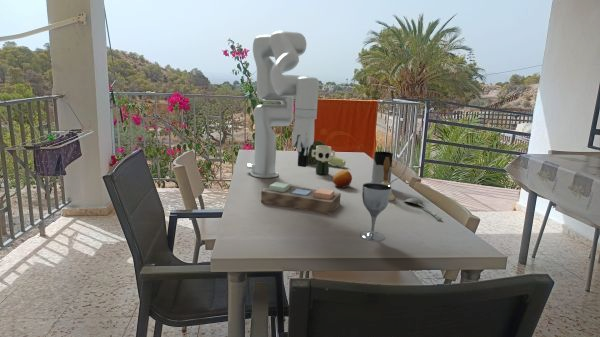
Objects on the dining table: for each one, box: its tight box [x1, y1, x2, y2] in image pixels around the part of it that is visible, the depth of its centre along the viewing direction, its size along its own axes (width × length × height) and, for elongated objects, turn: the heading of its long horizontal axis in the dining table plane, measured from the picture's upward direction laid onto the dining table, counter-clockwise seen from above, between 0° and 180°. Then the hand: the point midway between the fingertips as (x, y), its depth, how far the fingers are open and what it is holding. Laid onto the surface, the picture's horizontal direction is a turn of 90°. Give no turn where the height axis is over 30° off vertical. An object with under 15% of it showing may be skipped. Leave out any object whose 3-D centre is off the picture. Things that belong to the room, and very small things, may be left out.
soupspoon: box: [403, 197, 443, 221], centre depth 142 cm, size 22×3×7 cm
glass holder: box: [370, 151, 408, 185], centre depth 167 cm, size 9×14×15 cm, turn 70°
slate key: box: [291, 189, 311, 196], centre depth 142 cm, size 6×6×3 cm
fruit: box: [332, 169, 353, 188], centre depth 168 cm, size 8×8×8 cm
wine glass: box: [359, 182, 392, 242], centre depth 114 cm, size 8×8×15 cm
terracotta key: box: [314, 187, 335, 200], centre depth 139 cm, size 6×6×3 cm
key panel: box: [260, 185, 342, 215], centre depth 142 cm, size 26×12×4 cm, turn 70°
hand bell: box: [382, 157, 396, 202], centre depth 153 cm, size 8×8×16 cm
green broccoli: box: [308, 140, 347, 169], centre depth 209 cm, size 25×12×11 cm, turn 59°
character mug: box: [312, 145, 336, 175], centre depth 187 cm, size 11×7×13 cm, turn 94°
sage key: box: [269, 181, 291, 192], centre depth 144 cm, size 6×6×3 cm
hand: (302, 166), depth 140 cm, fingers closed
